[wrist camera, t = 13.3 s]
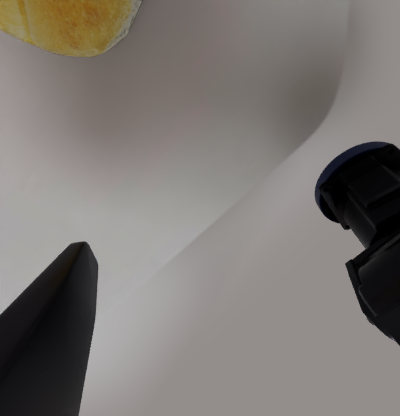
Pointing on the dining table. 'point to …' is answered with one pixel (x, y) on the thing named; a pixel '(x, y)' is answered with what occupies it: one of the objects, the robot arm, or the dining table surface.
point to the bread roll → (69, 24)
